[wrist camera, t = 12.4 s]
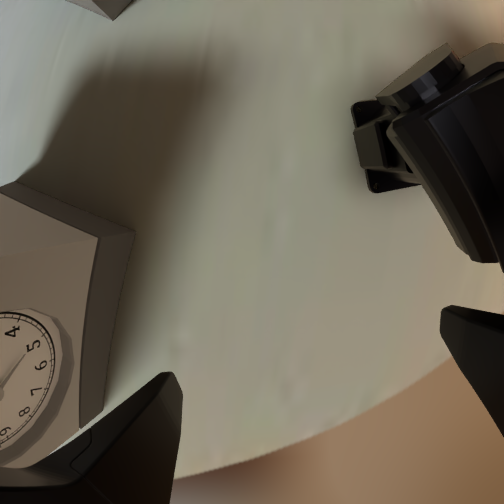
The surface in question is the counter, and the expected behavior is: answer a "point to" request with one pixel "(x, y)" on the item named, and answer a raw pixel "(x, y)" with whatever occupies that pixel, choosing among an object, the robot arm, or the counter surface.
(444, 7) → the counter surface
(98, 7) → the tub
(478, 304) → the counter surface
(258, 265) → the counter surface
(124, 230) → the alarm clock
